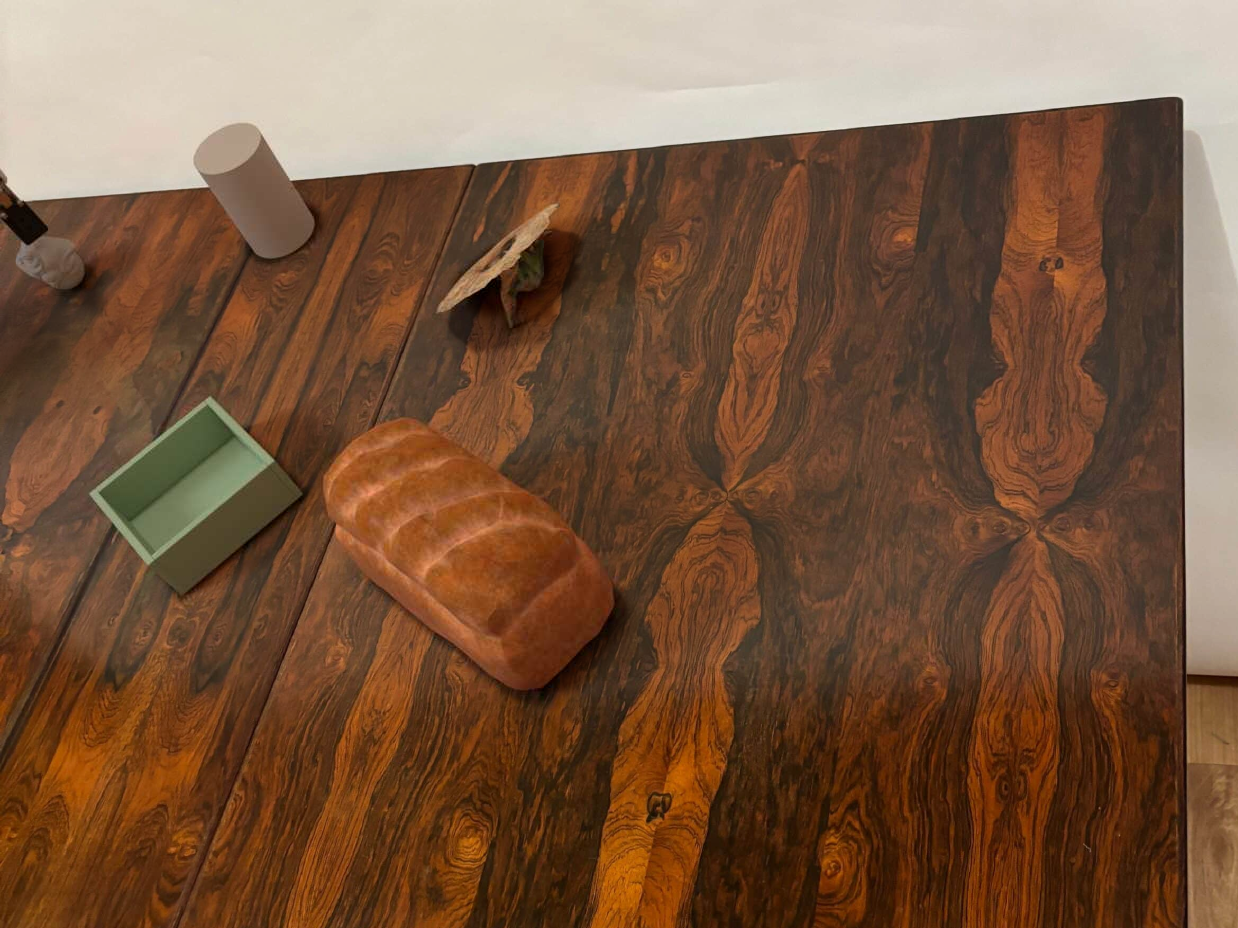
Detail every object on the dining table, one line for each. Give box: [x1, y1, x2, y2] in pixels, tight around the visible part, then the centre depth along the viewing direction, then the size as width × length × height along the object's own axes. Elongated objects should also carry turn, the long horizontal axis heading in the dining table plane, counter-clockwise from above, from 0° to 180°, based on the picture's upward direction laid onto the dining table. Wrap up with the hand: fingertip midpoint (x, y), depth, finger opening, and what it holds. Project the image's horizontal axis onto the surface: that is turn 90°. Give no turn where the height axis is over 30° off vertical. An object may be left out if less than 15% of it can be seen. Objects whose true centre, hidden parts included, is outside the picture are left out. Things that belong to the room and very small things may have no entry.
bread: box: [322, 417, 615, 691], centre depth 102 cm, size 14×26×16 cm, turn 47°
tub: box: [88, 395, 304, 596], centre depth 118 cm, size 16×14×6 cm
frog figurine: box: [15, 236, 85, 290], centre depth 141 cm, size 6×7×7 cm
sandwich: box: [436, 202, 561, 329], centre depth 123 cm, size 18×14×8 cm
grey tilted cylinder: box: [193, 122, 315, 259], centre depth 134 cm, size 8×8×12 cm
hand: (21, 220), depth 136 cm, fingers open, 9 cm apart
